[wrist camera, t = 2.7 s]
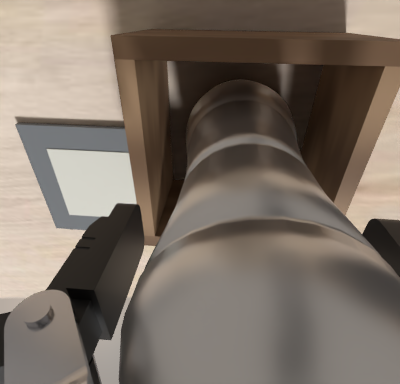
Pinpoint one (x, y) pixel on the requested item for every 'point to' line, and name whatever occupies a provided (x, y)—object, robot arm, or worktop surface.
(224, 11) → the worktop surface
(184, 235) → the plastic bottle
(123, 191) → the mat
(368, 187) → the worktop surface
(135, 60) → the crate
